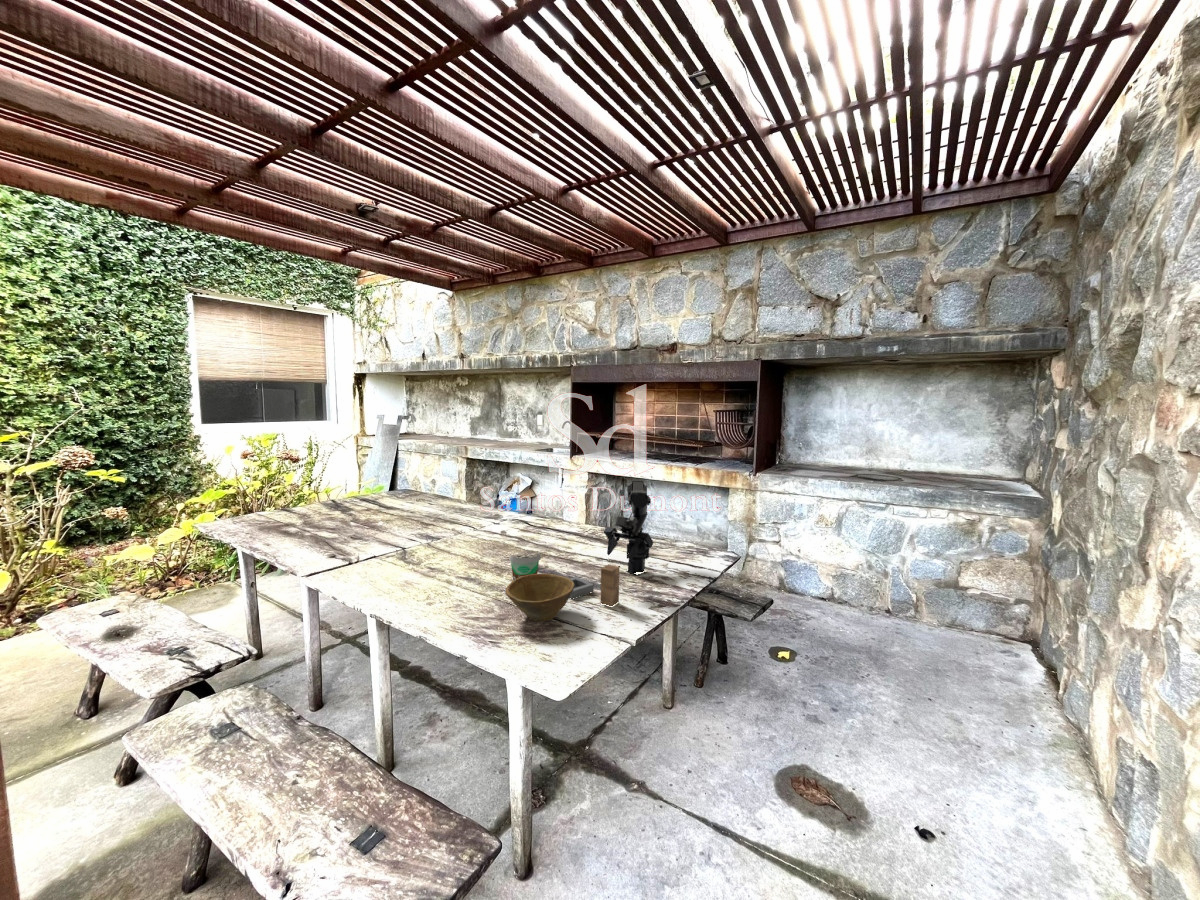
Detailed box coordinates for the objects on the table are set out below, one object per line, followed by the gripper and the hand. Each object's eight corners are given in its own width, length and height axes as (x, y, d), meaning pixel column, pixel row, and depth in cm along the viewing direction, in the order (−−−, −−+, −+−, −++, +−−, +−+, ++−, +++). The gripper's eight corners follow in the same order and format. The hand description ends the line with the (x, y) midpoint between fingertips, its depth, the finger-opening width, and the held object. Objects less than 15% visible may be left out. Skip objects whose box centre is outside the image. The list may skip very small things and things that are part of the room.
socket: (576, 584, 187) (576, 576, 186) (593, 592, 179) (593, 584, 179) (555, 590, 180) (555, 583, 180) (571, 599, 173) (571, 591, 172)
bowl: (492, 614, 161) (491, 585, 159) (547, 595, 176) (547, 568, 175) (532, 639, 145) (532, 606, 144) (589, 615, 161) (589, 585, 160)
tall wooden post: (607, 600, 173) (608, 564, 171) (618, 603, 170) (619, 567, 169) (600, 604, 169) (601, 568, 168) (611, 608, 167) (612, 570, 165)
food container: (510, 585, 185) (510, 559, 184) (509, 579, 191) (508, 554, 190) (543, 582, 188) (543, 557, 187) (540, 576, 194) (540, 551, 193)
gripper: (606, 505, 184) (588, 539, 176) (649, 510, 173) (631, 547, 165) (618, 523, 191) (601, 557, 183) (660, 529, 180) (643, 565, 171)
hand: (618, 556), depth 175 cm, fingers open, 9 cm apart
